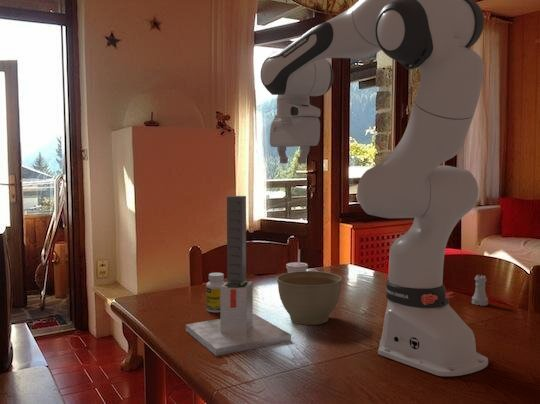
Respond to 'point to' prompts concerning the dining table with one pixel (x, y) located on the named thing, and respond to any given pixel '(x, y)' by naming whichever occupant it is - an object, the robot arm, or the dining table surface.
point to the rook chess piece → (480, 291)
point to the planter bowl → (309, 295)
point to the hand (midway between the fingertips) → (292, 163)
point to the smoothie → (296, 265)
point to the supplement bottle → (214, 292)
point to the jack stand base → (236, 324)
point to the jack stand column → (236, 240)
